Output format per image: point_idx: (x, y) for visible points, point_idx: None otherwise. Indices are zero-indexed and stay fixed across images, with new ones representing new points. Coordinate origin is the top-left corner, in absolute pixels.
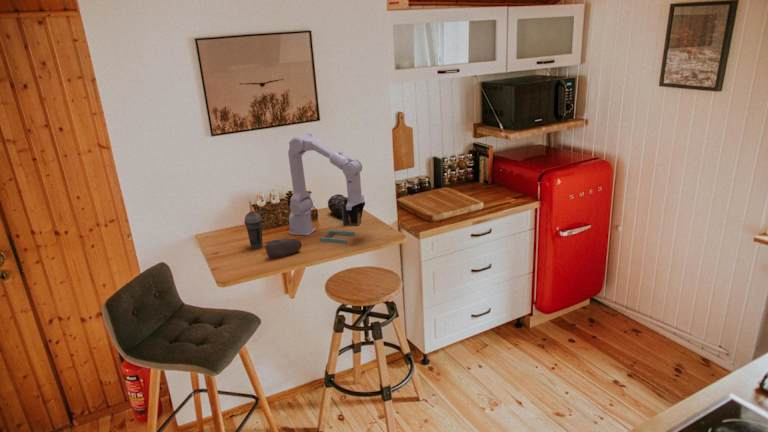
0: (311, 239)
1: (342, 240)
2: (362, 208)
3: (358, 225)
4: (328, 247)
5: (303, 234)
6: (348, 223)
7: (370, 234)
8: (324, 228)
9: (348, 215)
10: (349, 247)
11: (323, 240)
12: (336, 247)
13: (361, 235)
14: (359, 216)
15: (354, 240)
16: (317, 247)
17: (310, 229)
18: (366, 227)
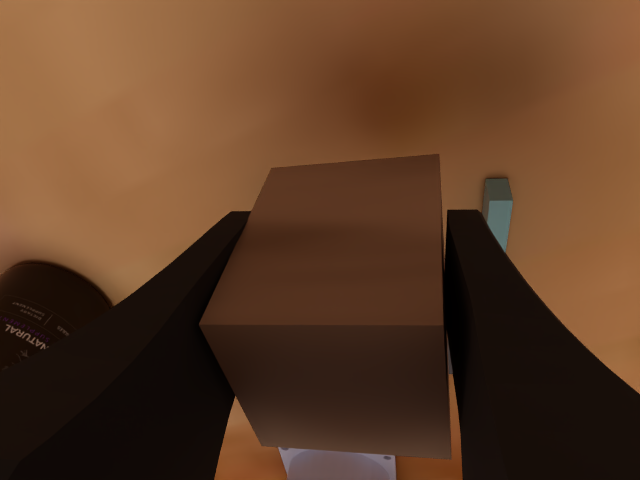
0: (450, 418)
1: (506, 229)
2: (114, 359)
3: (431, 162)
4: (625, 285)
5: (395, 468)
6: (98, 313)
7: (170, 27)
8: (237, 404)
9: (449, 442)
10: (635, 94)
11: None
12: (628, 224)
13: (242, 117)
14: (309, 263)
15: (401, 129)
16: (621, 354)
17: (341, 467)
18: (41, 157)
